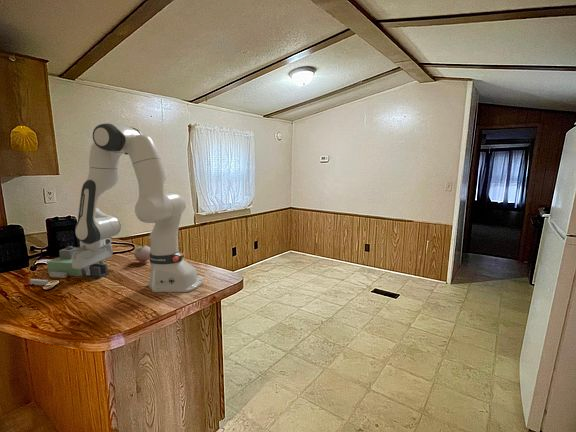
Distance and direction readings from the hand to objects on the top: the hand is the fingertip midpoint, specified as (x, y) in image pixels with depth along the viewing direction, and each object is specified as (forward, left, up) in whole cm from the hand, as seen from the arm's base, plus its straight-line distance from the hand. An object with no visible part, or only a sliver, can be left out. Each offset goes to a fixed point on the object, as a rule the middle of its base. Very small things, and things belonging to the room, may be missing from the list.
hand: (94, 272), depth 143 cm
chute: (0, 0, -2) cm, 2 cm away
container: (+19, -17, -2) cm, 26 cm away
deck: (+15, +2, -2) cm, 15 cm away
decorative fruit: (-10, -22, -2) cm, 24 cm away
